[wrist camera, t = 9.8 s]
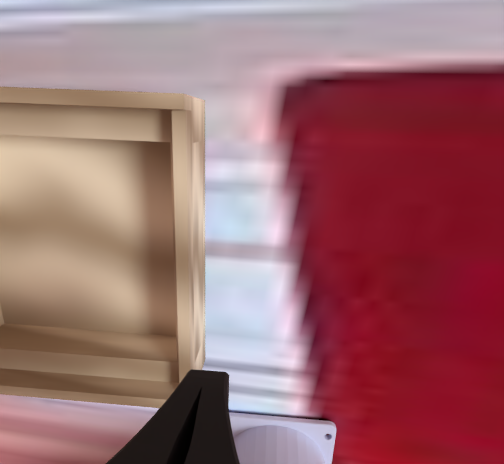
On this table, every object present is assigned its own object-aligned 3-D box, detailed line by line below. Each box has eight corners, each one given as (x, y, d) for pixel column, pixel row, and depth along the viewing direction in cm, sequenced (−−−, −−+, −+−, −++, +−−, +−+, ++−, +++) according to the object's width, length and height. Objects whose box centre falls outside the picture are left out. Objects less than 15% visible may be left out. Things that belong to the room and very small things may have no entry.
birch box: (205, 358, 23) (189, 410, 19) (2, 342, 24) (-56, 389, 19) (204, 100, 18) (183, 93, 14) (-51, 90, 19) (-143, 81, 15)
